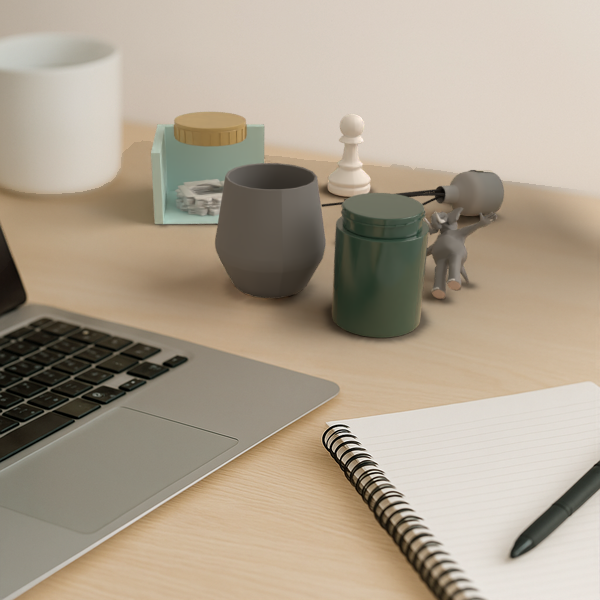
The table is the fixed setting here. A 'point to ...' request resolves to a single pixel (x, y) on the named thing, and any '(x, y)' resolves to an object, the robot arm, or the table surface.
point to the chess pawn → (350, 161)
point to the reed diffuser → (465, 193)
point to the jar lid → (210, 128)
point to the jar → (379, 265)
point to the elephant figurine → (451, 249)
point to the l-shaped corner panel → (196, 174)
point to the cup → (270, 228)
